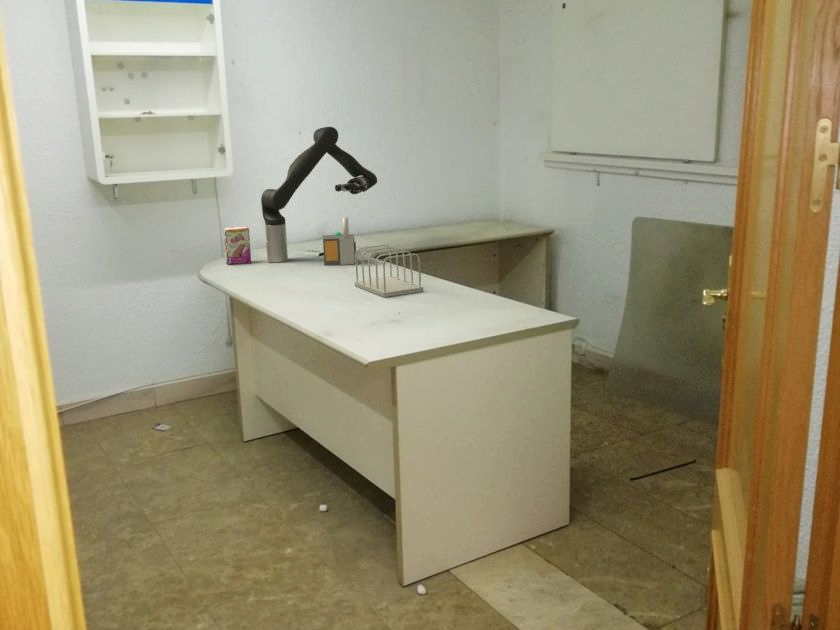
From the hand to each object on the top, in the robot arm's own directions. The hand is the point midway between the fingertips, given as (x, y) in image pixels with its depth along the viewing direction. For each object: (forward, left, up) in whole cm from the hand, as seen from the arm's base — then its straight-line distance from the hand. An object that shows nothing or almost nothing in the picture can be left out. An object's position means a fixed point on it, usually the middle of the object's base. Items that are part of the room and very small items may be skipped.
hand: (346, 189), depth 378 cm
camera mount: (-4, +10, -32) cm, 34 cm away
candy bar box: (-51, -1, -32) cm, 61 cm away
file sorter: (+13, -68, -32) cm, 77 cm away
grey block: (-5, -11, -32) cm, 34 cm away
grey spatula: (-1, -17, -32) cm, 36 cm away
